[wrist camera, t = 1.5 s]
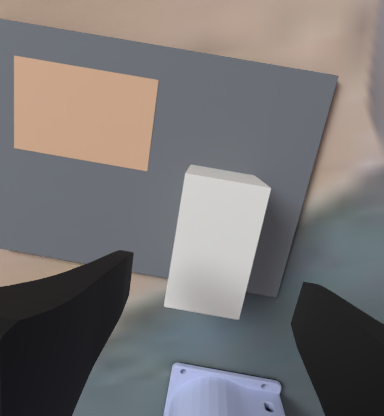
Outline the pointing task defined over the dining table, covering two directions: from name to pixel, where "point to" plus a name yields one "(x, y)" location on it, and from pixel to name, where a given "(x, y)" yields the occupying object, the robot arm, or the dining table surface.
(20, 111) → the mat
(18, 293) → the robot arm
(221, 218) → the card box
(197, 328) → the dining table surface
